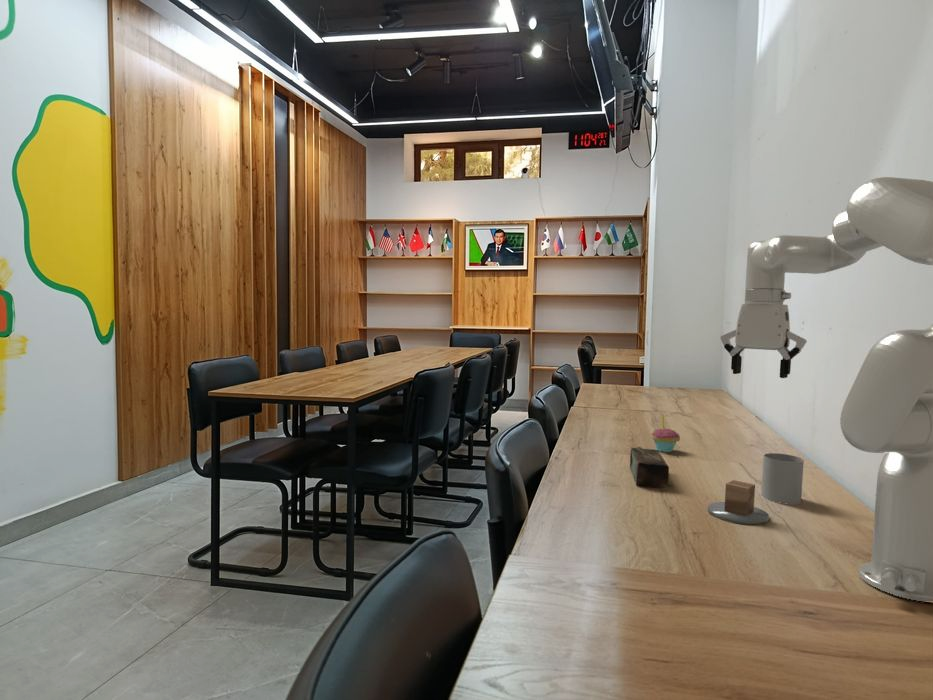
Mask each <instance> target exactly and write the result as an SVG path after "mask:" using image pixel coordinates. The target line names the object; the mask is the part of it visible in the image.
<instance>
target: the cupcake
mask: <svg viewBox="0 0 933 700" xmlns="http://www.w3.org/2000/svg"><path fill="white" fill-rule="evenodd" d="M661 424H662V425H661V427H662V428H658V429H656V430H654V431H653V432H652V433H651V439H652V440H653V442H654V444H655V447H656V450H658V451H659V452H661V451H664V452H663V453H672V452H673V451H674V448H675V446H676V444H677V442H680V440H681V436H680V434H679V433H678V432H676V431H675V430H673V429H670V428H666V427H665V416H664V415H663V412H661ZM671 451H672V452H671Z"/></svg>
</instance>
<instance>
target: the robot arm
mask: <svg viewBox="0 0 933 700" xmlns="http://www.w3.org/2000/svg"><path fill="white" fill-rule="evenodd" d="M831 227H832V228H831V232H832V234H829V235H826V236H809V235H808V236H806V235H805V236H804V235H786V234H784V235H783V234H782V235H777V236H773V237H772V238H769V239H767V240H759V241H754V242H752V243H750V244H749V245H748V248H747V256H746V275H745V291H744V292H745V293H744V303H742V304H741V306H740V309H739V313H738V318H737V322H736V328H735V329H734V330H732V331H729V332H728V333H726V334H725V333H724V334H723V335H721V336H720V340H721V342H722V345H723V348H724V349H725V350H726V351H727V352H728V354H729V356H730V357H731V365H730V369H731V370H732V374H733V375H739V374H741V372H742V360H743V359H742V355H741V353H743V351H745V349H746V350H747V349H749V350H750V349H751V350H765V351H777V352H778V353H779V354H780V355H781V356H782V359H780V365H779V378H780V379H786V378H788V377H789V376H788V375H790V374H791V366H792V359H794V358H795V357H796V356H797V355H798V354H800V352H802V349H803V348H804V347H805V345H806V344H807V339H806V338H804V337H802V336H800V335H798V334H796V333H794V332H792V331H791V327H790V313H789V312H790V311H789V306H788V304H784V303H785V300H790V299H791V298H792V292H787V291H786V290H785V280H786V279H785V278H786V274H787V273H789V274H812V275H818V274H819V275H820V274H825V273H830V272H833V271H836V270H839V269H842V268H846V267H849V266H851V265H854V264H856V263H857V262H858V261H860V260H861V259H862V258H863V257H864V256H865V255H866V254H867V252H870V251H873V250H875V249H879V248H882V247H885V248H886V249H888V250H890V251H891V252H893V253H895V254H897V255H899V256H901V257H902V258H904V259H906V260H908V261H911V262H914V263H917V264H921V265H925V266H933V181H932V180H931V181H930V180H925V179H914V178H905V177H904V178H903V177H893V176H883V177H876V178H873V179H871V180H868V181H865V182H864V183H862V184H861V185H859V187H857V188H856V189H855V190H854V191H853V193H852V194H851V195H850V197H849V199H848V201H847V204H846V208H845V209H843V210H841V211H840V212H839V213H837V215H836V216H835V217H834V219H833V222H832V226H831ZM732 338H734V339H735V340H734V342H735V347H734V345H732V343H731V341H730V340H731V339H732ZM791 341H793V342H795V346H794V347H793V348H792V349H791V350H790V349H789V347H790V342H791ZM839 422H840V423H839V424H840V429H841V432H842V436H843V437H844V439H845V440H846V442H847V443H848V444H849V445H851V446H852V447H853V448H855V449H858V451H862V452H866V453H871V454H884V455H883V457H882V458H881V462H880V463H879V464H880V465H879V468H878V471H877V476H876V477H877V480H876V487H875V488H876V489H875V491H876V492H875V504H874V519H873V533H872V546H871V547H872V549H871V561H868V562H864V563H862V564H860V565H859V568H858V573H859V576H860V578H861V579H862V580H863V581H864V582H866V584H869V586H872V587H874V588H875V587H876V588H875V589H877V588H878V589H877V590H879V589H880V590H879V591H882V592H884V591H885V592H884V593H886V592H887V594H889V593H890V594H889V595H892V594H893V595H892V596H896V597H898V596H899V597H898V598H901V597H902V599H905V598H906V600H909V599H911V600H910V601H913V600H919V601H933V322H932V323H931V325H929V327H928V328H925V329H902V330H897V331H893V332H890V333H889V334H886V335H884V336H883V337H881V338H880V339H878V341H877V342H876V343H875V344H874V345H873V346H872V347H871V348H870V350H869V351H868V353H867V355H866V357H865V359H864V361H863V363H862V364H861V367H860V369H859V371H858V373H857V376H856V377H855V380H854V382H853V384H852V386H851V388H850V390H849V393H848V394H847V396H846V398H845V401H844V403H843V405H842V409H841V412H840V418H839Z"/></svg>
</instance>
